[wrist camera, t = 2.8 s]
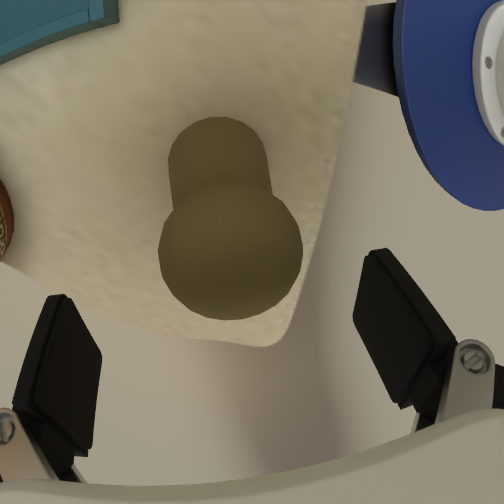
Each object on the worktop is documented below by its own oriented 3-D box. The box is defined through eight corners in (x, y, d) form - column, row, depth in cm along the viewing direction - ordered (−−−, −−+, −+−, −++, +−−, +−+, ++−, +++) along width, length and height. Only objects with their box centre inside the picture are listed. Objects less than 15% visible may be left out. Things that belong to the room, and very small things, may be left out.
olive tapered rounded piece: (276, 125, 18) (352, 213, 9) (255, 212, 22) (296, 344, 13) (174, 111, 17) (142, 187, 8) (163, 203, 20) (142, 339, 11)
